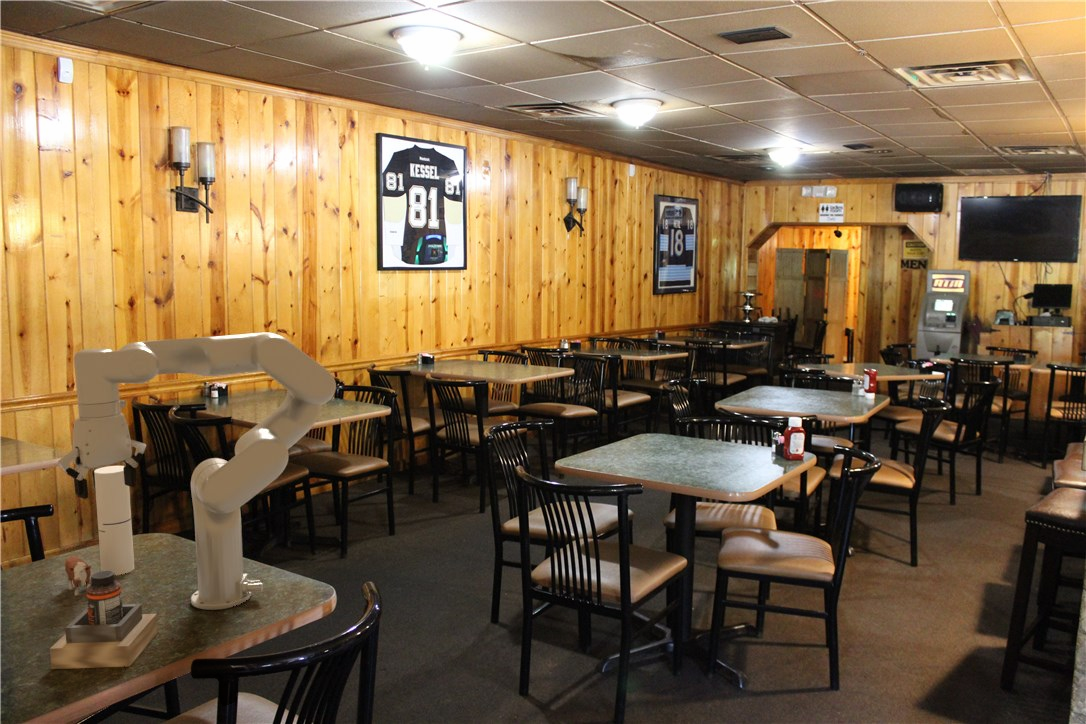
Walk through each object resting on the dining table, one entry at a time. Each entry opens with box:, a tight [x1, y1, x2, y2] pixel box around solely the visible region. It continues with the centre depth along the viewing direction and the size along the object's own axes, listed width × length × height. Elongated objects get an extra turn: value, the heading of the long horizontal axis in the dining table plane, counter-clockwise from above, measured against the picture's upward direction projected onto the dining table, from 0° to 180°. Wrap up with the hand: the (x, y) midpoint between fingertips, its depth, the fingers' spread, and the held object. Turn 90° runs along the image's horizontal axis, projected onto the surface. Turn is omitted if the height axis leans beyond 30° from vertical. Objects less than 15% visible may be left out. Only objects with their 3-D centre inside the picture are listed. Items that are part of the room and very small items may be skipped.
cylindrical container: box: [93, 465, 135, 576], centre depth 202 cm, size 7×7×25 cm
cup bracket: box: [49, 603, 159, 670], centre depth 163 cm, size 14×14×7 cm
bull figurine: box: [64, 555, 92, 597], centre depth 190 cm, size 4×13×8 cm, turn 36°
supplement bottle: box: [85, 570, 123, 625], centre depth 162 cm, size 6×6×11 cm
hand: (107, 491), depth 173 cm, fingers open, 9 cm apart
